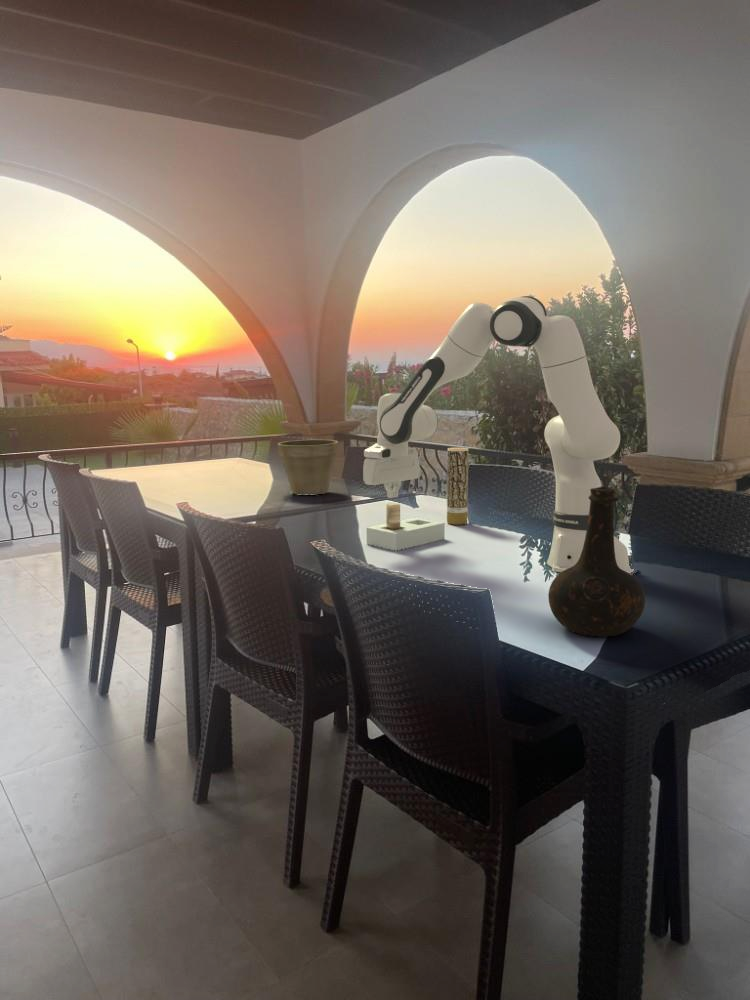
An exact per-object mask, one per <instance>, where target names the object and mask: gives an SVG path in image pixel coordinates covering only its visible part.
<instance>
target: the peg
mask: <svg viewBox="0 0 750 1000" xmlns="http://www.w3.org/2000/svg"><path fill="white" fill-rule="evenodd" d="M385 509H386V511H385V513H386V520H385V521H386V523H385V524H387V526H386V528H387V530H392V531H395V530H399V529H400V520H401V504H400V503H397V502H392V503H391V502H390V503H386V508H385Z"/></svg>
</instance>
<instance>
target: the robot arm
mask: <svg viewBox="0 0 750 1000" xmlns="http://www.w3.org/2000/svg"><path fill="white" fill-rule="evenodd" d="M495 341H497V342H498V343H499V344H502V345H504V346H507V347H521V348H522V347H523V348H524V347H525V348H530V347H533V348H534V349H535V351H536V354H537V356H538V361H539V365H540V369H541V370H540V371H541V372H542V378H543V381H544V387H545V391H546V394H547V397H548V399H549V401H550V402H551V403H552V404H553V406H554V407H555V409H556V411H557V413H558V415H556V416H554V417H552V418H550V419H549V420H548V422H547V423H546V425H545V428H544V432H543V435H544V439H545V442H546V444H547V446H548V448H549V451H550V455H551V460H552V464H553V471H554V477H555V503H554V504H555V509H554V510H553V517H552V528H553V533H552V534H553V535H552V540H551V541H552V543H551V546H550V552H549V555H548V558H547V561H546V564H547V566H549V567H550V568H551V569H552V571H553V572H557V573H561V572H562V571H564V570H566V569H568V568H570V567H572V566H574V565H575V564H576V563H577V562H578V560H579V558H580V555H581V552H582V549H583V546H584V541H585V537H586V531H587V525H588V518H589V510H590V500H589V496H590V495H591V491H590V489H591V488H598V487H602V481H601V479H600V477H599V476H598V473H597V471H596V468H595V465H594V461H600V460H604V459H608V458H610V457H612V456H613V455H614V454H615V453H616V452H617V451H618V449H619V446H620V443H621V434H620V433H621V431H620V430H619V428H618V426H617V425H616V424H615V423H614V422H613V421H612V419H610V417H609V416H608V414H607V411H606V410H605V408H604V406H603V405H602V402H601V400H600V398H599V395H598V394H597V392H596V389H595V386H594V384H593V379H592V375H591V372H590V367H589V363H588V358H587V353H586V351H585V350H586V349H585V346H584V342H583V340H582V337H581V334H580V332H579V330H578V326H577V324H576V322H575V321H574V319H573V318H571V317H569V316H567V315H561V314H560V315H559V314H558V315H553V316H548V312H547V310H546V307H545V306H544V303H542V302H541V300H540V299H537V298H536V297H533V296H528V295H525V296H518V297H517V296H516V297H512V298H510V299H508V300H506V301H504V302H502V303H501V304H499V305H498V306H497V307H496V308H494V307H492V306H491V305H489V304H487V303H485V302H473V303H471V304H470V305H468V306H467V307H466V308H465V309H464V311H462V313H461V314H460V315H459V316H458V318H457V319H456V320H455V322H454V323H453V324H452V326H451V328H450V330H449V331H448V332H447V334H446V336H445V337H444V339H443V340H442V342H441V343H440V344H439V346H438V347H437V348H436V350H435V351H434V352H433V354H431V355H430V357H429V358H428V359H427V360H426V361H425V362H424V363H423V364H422V365H421V367H420V368H419V369H418V370H417V372H416V373H415V374H414V375H413V376H412V378H411V380H410V381H409V382H408V384H407V385H406V386H405V388H404V389H403V391H396V392H395V391H394V392H388V393H385V394H383V395H381V396H380V397H379V399H378V404H377V412H376V413H377V414H376V415H377V416H376V417H377V418H376V425H377V428H378V435H377V437H376V438H377V440H376V443H374V444H373V445H371V446H369V447H368V448H366V449H364V450H363V456H364V457H365V458H364V461H363V466H362V467H363V469H362V470H363V471H362V473H363V474H362V476H363V477H362V478H363V482H364V484H365V485H367V486H368V485H370V486H376V485H377V486H378V485H383V487H384V489H385V491H386V498H389V499H392V498H398V497H399V490H400V489H401V486H402V482H404V481H409V480H417V479H419V477H420V476H421V466H420V460H419V459H420V457H419V455H418V454H419V452H418V450H417V449H416V448H415V447H409V442H412V441H419V440H426V439H428V438H431V437H432V436H433V435H435V433H436V432H437V429H438V425H439V421H438V415H437V412H436V411H435V409H434V408H432V407H431V406H429V405H426V404H425V403H426V401H427V400H428V399H429V397H430V396H431V395H432V393H433V392H434V391H435V390H437V389H438V388H439V387H441V386H444V385H445V384H448V383H449V382H454V381H456V380H458V379H462V378H464V377H466V376H467V377H468V376H469V375H470V374H471V373H472V372H473V371H474V370H475V369H476V368H477V367H478V366H479V364H480V363H481V361H482V360H483V358H484V357H485V355H486V354H487V352H488V350H489V349H490V347H491V346H492V344H493V343H495ZM614 549H615V558H616V562H617V565H618V567H619V568H620V569H622V570H624V571H626V572H628V573H631V572H633V571H634V569H631V568H630V566H629V564H630V561H629V560H630V559H629V553H628V548H627V546H626V545H625V544H624V543H623V542H622V541H621V540H619V538H618V537H616V536H615V535H614Z"/></svg>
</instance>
